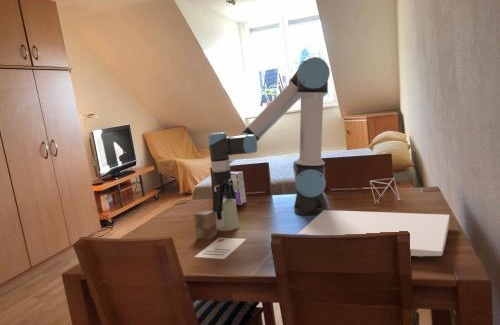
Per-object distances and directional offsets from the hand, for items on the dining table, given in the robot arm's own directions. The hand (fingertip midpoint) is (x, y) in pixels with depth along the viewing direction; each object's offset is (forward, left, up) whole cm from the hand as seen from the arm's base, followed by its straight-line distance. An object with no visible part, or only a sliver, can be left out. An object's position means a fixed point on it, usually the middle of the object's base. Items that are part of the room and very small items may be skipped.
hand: (227, 222), depth 163 cm
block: (+4, +11, -2) cm, 12 cm away
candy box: (+16, -36, -2) cm, 39 cm away
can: (0, 0, -2) cm, 3 cm away
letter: (-8, +21, -2) cm, 23 cm away
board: (-59, +7, -3) cm, 60 cm away
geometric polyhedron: (-59, -40, -3) cm, 71 cm away
